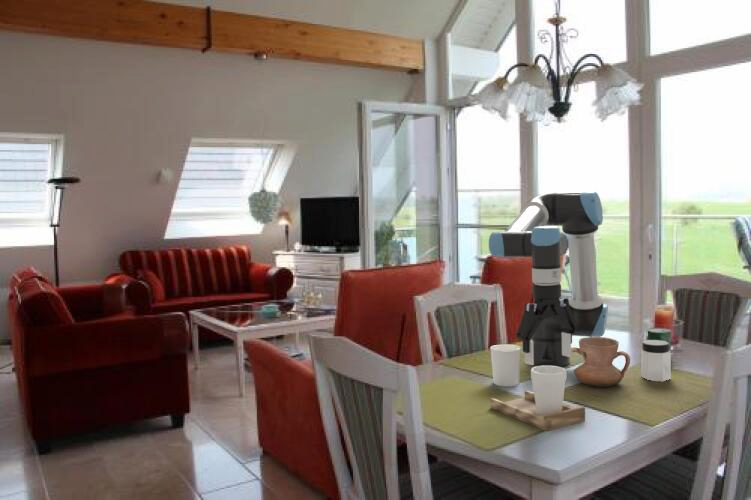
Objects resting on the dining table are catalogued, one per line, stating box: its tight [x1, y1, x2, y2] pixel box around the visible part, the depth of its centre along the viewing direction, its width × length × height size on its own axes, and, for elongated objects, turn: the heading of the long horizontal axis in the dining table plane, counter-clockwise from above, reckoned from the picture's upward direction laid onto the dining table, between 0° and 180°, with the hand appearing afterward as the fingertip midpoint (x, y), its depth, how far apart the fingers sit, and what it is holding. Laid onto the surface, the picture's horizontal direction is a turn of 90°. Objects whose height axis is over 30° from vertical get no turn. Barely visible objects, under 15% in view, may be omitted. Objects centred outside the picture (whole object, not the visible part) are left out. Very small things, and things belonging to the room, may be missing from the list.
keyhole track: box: [490, 389, 586, 432], centre depth 182 cm, size 23×14×4 cm, turn 28°
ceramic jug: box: [571, 336, 631, 388], centre depth 208 cm, size 18×14×14 cm
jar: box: [640, 339, 672, 383], centre depth 212 cm, size 9×8×12 cm
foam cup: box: [530, 365, 567, 416], centre depth 177 cm, size 10×9×13 cm
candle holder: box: [489, 343, 522, 388], centre depth 213 cm, size 10×10×12 cm
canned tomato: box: [646, 327, 672, 352], centre depth 235 cm, size 8×8×11 cm
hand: (548, 360), depth 177 cm, fingers open, 13 cm apart
